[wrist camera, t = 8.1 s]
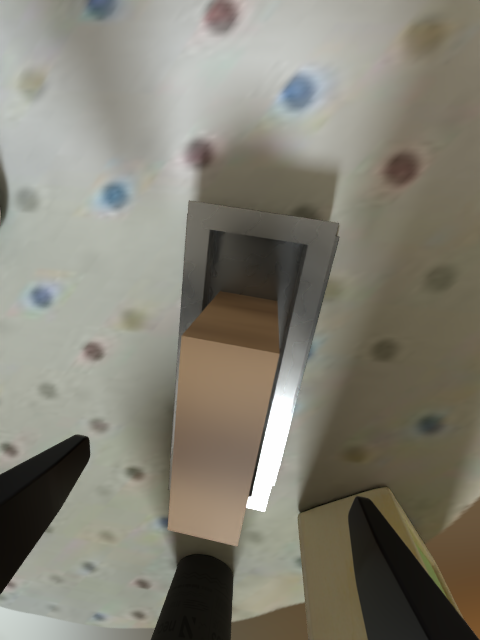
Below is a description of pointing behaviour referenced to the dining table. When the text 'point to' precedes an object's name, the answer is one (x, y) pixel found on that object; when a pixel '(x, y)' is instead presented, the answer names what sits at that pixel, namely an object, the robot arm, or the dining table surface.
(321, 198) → the dining table surface
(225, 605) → the drinking cup
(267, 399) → the wooden block
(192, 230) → the frame
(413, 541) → the toy refrigerator
